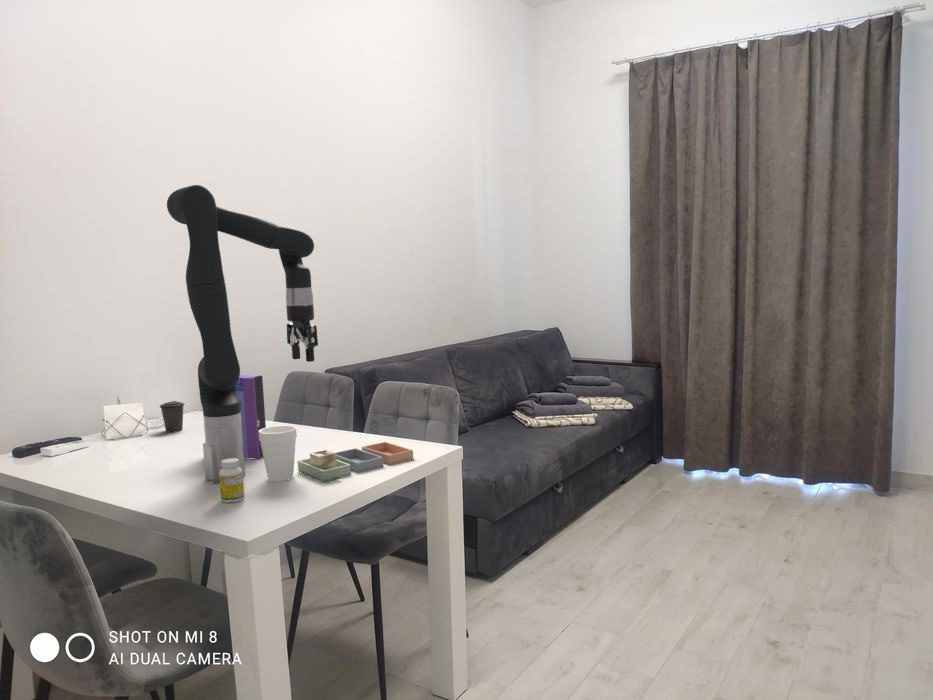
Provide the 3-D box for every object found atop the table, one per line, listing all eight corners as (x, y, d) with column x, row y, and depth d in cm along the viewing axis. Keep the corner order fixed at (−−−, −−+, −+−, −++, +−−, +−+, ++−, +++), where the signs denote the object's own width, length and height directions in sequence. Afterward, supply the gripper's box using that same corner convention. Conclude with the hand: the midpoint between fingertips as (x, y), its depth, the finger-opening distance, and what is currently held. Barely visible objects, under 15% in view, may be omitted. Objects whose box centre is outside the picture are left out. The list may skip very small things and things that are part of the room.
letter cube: (319, 475, 182) (318, 456, 182) (311, 471, 186) (309, 452, 185) (337, 471, 185) (335, 452, 185) (327, 467, 189) (326, 448, 189)
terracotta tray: (389, 466, 191) (389, 455, 190) (362, 457, 201) (361, 446, 201) (413, 460, 196) (412, 450, 195) (385, 451, 206) (385, 441, 206)
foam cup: (296, 471, 189) (293, 423, 188) (301, 480, 181) (298, 430, 179) (260, 476, 186) (256, 427, 184) (263, 485, 177) (260, 435, 176)
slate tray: (357, 474, 184) (357, 463, 184) (331, 464, 195) (330, 453, 195) (383, 468, 189) (382, 457, 189) (356, 458, 200) (355, 448, 200)
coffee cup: (182, 426, 251) (180, 399, 250) (189, 430, 244) (187, 402, 243) (158, 430, 246) (156, 402, 244) (165, 434, 239) (163, 405, 238)
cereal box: (207, 456, 208) (201, 376, 205) (217, 452, 212) (211, 374, 209) (258, 459, 203) (252, 377, 200) (267, 455, 207) (262, 374, 204)
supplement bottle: (243, 502, 165) (240, 462, 164) (219, 504, 164) (216, 464, 163) (245, 495, 170) (243, 456, 169) (222, 497, 169) (219, 458, 168)
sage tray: (323, 482, 178) (323, 471, 177) (298, 471, 188) (297, 460, 188) (351, 475, 183) (350, 464, 183) (324, 465, 194) (324, 455, 193)
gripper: (276, 304, 203) (280, 359, 205) (299, 305, 192) (302, 363, 194) (300, 302, 207) (303, 357, 209) (323, 303, 197) (327, 360, 198)
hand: (303, 360), depth 202 cm, fingers open, 8 cm apart
